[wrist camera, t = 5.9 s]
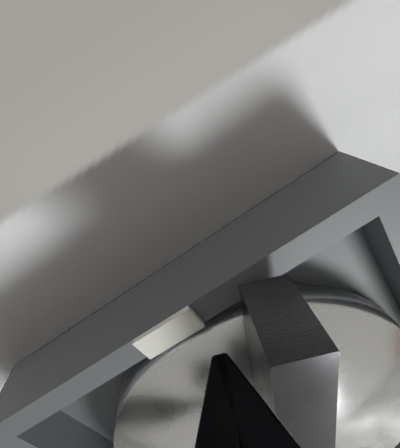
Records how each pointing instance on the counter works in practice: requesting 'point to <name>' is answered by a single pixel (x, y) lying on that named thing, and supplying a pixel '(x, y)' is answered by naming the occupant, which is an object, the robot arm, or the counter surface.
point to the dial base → (210, 297)
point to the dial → (277, 370)
